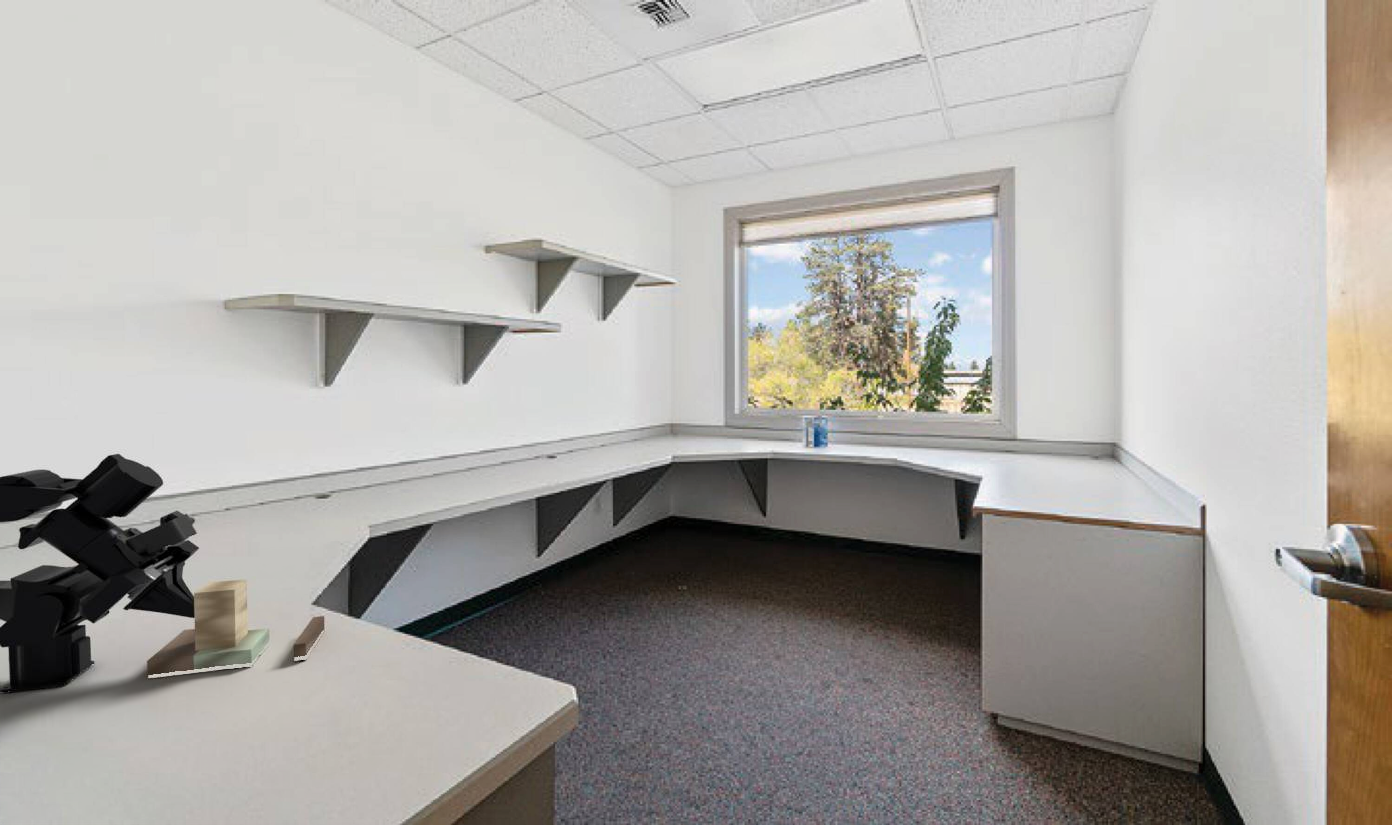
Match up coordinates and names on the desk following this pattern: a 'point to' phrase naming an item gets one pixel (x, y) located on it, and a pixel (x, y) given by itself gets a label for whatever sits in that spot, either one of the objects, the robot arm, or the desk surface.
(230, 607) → the beech block
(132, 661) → the desk surface
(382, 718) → the desk surface
